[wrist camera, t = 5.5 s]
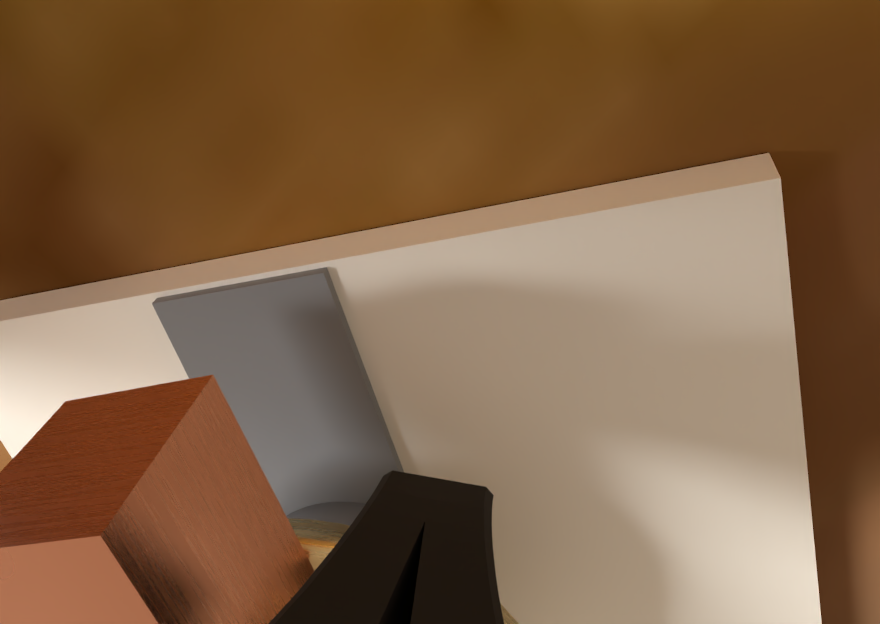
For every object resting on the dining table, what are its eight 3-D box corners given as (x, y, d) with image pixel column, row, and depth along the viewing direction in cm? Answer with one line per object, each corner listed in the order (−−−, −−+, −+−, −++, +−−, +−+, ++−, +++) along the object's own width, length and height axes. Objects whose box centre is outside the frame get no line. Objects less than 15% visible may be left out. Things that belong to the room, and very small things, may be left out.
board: (-34, 307, 17) (-150, 396, 14) (769, 152, 12) (809, 240, 10) (234, 744, 23) (188, 859, 20) (826, 739, 19) (860, 884, 16)
